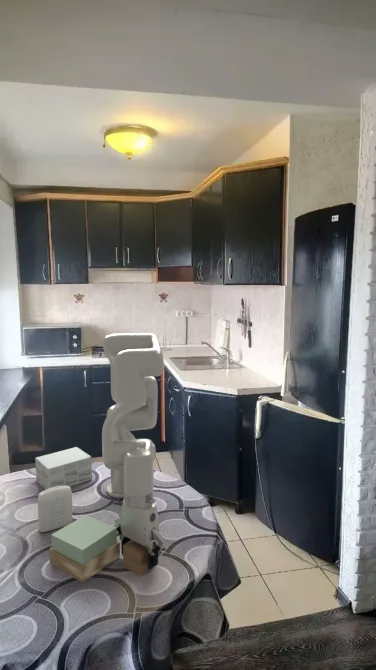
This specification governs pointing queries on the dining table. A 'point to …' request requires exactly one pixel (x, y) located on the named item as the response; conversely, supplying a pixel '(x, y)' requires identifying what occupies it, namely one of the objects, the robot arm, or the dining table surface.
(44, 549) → the dining table surface
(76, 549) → the sage top block
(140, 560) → the walnut cube
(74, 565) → the maple base block
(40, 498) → the photo printer
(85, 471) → the supplement box
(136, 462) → the robot arm
